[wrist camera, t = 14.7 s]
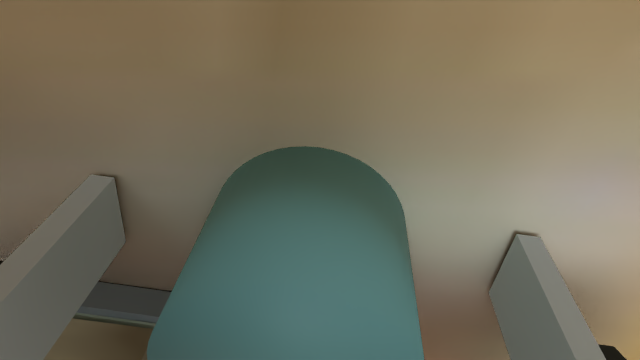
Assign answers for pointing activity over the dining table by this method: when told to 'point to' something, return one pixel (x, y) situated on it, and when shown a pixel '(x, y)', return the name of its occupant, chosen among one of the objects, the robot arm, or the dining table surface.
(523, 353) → the robot arm
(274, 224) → the teal egg shape
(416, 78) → the dining table surface
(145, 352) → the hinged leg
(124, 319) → the jig board
